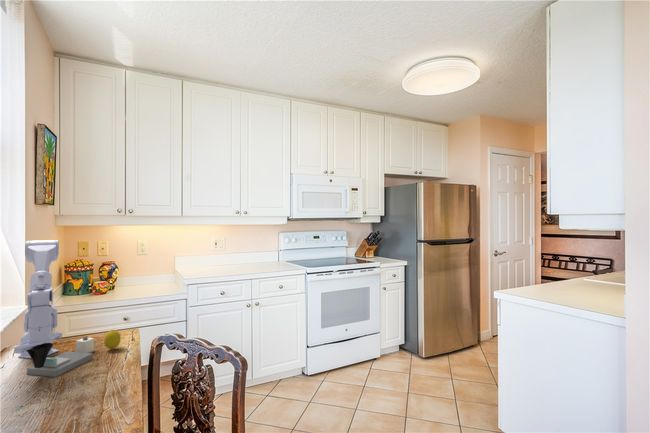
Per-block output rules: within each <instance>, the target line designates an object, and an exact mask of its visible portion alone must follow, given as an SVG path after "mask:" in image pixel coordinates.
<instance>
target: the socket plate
mask: <svg viewBox="0 0 650 433" xmlns="http://www.w3.org/2000/svg"><path fill="white" fill-rule="evenodd" d="M55 357H58V358H70V361H68V362H65V363H63V364H61V365H59V366H57V367H45V366H44V367H42V368H35V367H34V365H32V366H29V367H27V368H26V375H31V376H43V377H51V378H56V377H59V376H60V375H62V374H64V373H66V372H68V371H71V370H72V369H74V368H77V367H78V366H80V365H83V364H85V363H87V362H89V361H91V360H93V359H94V354H93V353H92V352H90V353H82V352H76V351H67V350H66V351H64V352H62V353H60V354H57V355H55V356H53V357H51V358H55Z"/></svg>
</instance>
